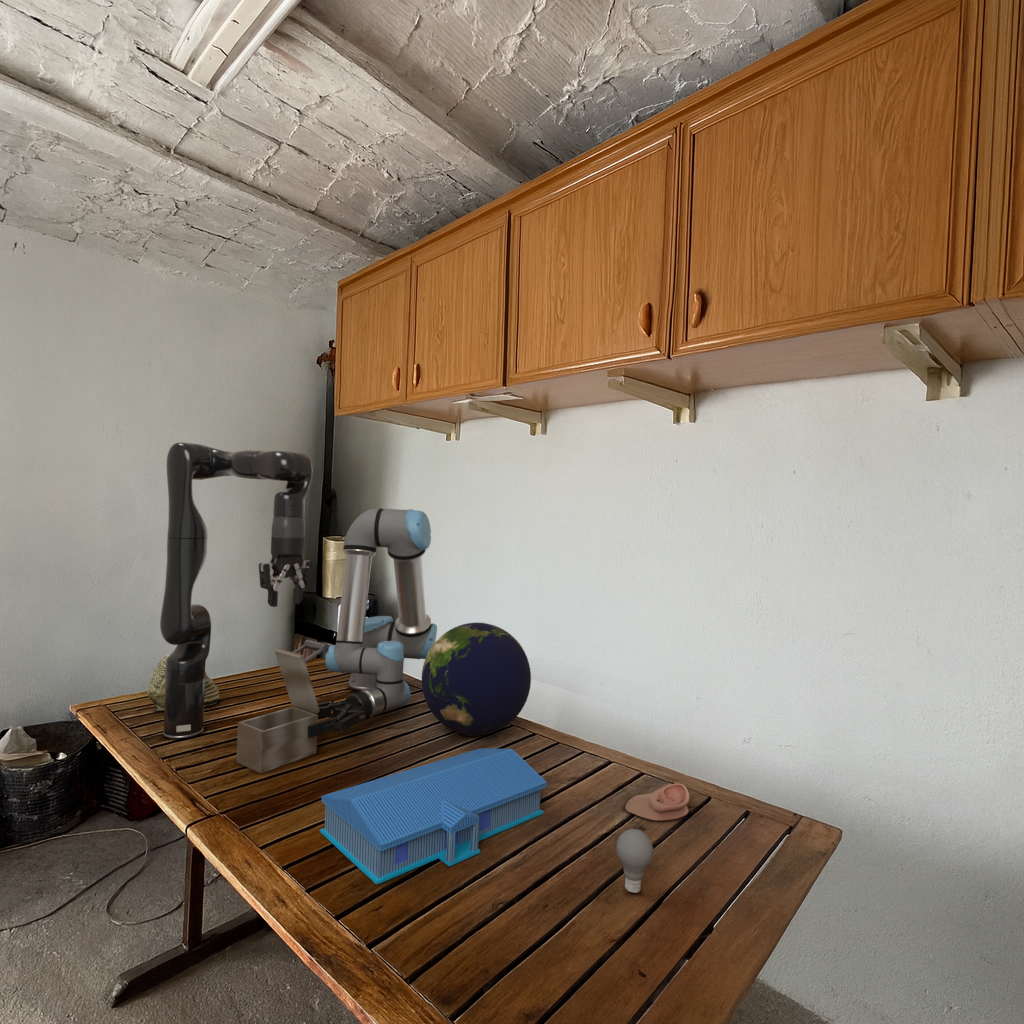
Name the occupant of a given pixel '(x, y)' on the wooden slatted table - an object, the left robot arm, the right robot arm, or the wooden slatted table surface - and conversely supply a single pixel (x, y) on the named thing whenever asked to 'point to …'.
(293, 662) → the grey piece
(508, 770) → the model building
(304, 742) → the chest
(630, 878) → the light bulb
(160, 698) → the fossil
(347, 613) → the right robot arm
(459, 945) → the wooden slatted table surface
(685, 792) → the anatomical model
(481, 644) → the globe
